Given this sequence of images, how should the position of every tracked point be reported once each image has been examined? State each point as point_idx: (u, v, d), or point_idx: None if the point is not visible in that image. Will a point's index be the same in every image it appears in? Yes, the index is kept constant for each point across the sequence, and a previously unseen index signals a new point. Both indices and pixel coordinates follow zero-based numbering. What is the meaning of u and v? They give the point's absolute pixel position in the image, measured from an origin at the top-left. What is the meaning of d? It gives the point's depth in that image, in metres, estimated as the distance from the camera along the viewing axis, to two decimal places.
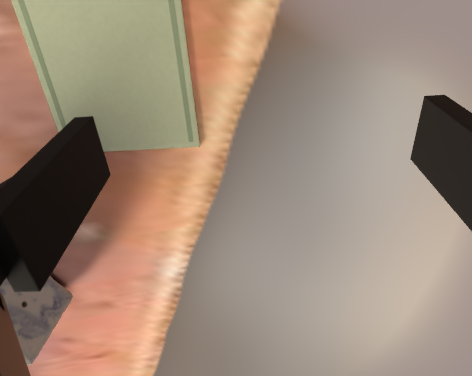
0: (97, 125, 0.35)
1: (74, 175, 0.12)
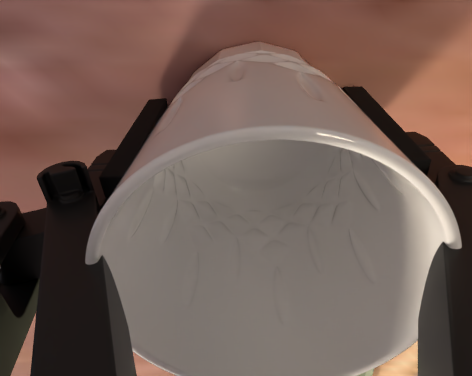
0: None
1: None
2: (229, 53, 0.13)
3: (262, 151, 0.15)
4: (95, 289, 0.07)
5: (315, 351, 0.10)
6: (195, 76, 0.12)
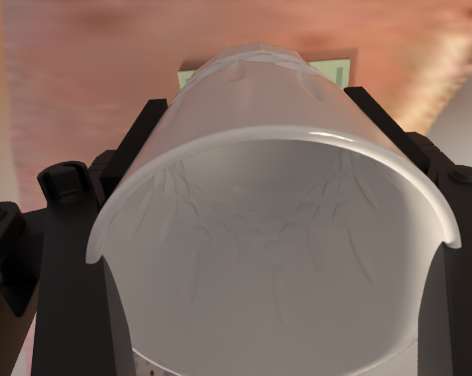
0: None
1: None
2: (229, 53, 0.13)
3: (262, 151, 0.15)
4: (95, 289, 0.07)
5: (315, 350, 0.10)
6: (195, 76, 0.12)
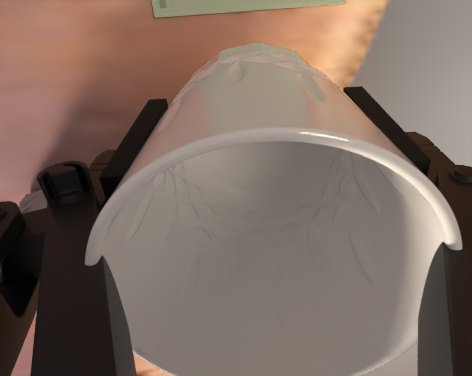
0: None
1: None
2: (229, 53, 0.13)
3: (262, 152, 0.15)
4: (95, 289, 0.07)
5: (315, 352, 0.10)
6: (195, 77, 0.12)
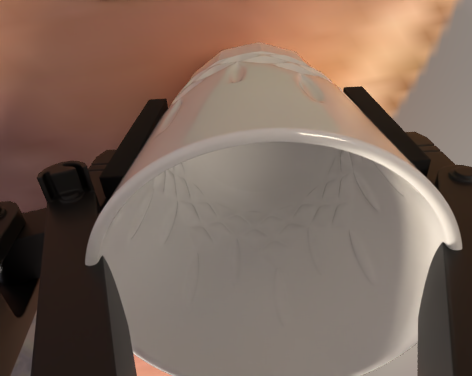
0: None
1: None
2: (229, 54, 0.13)
3: (262, 152, 0.15)
4: (95, 289, 0.07)
5: (315, 353, 0.10)
6: (195, 77, 0.12)
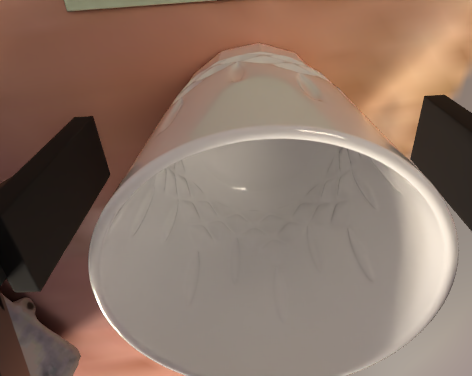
0: None
1: (74, 175, 0.12)
2: (229, 54, 0.13)
3: (262, 151, 0.15)
4: None
5: (314, 348, 0.10)
6: (195, 77, 0.12)
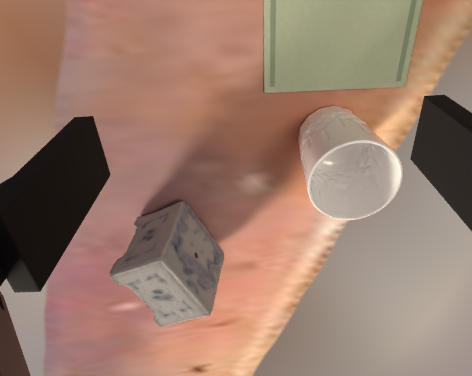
0: (307, 61, 0.34)
1: (74, 175, 0.12)
2: (326, 111, 0.36)
3: None
4: None
5: (361, 209, 0.33)
6: (318, 120, 0.34)
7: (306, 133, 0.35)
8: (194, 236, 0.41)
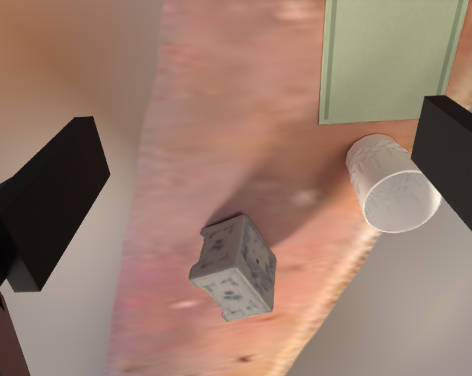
0: (356, 98, 0.41)
1: (74, 175, 0.12)
2: (372, 139, 0.42)
3: None
4: None
5: (405, 223, 0.39)
6: (366, 148, 0.41)
7: (356, 158, 0.42)
8: (255, 244, 0.48)
